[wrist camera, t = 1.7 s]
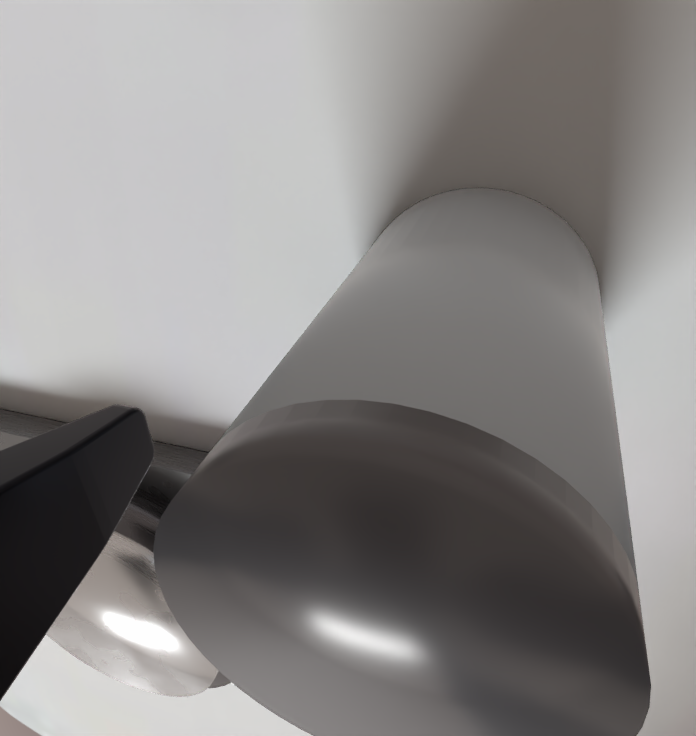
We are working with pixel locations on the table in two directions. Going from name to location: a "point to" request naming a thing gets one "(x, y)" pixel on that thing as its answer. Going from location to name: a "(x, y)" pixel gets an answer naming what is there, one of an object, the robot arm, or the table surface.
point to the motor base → (129, 585)
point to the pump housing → (427, 498)
